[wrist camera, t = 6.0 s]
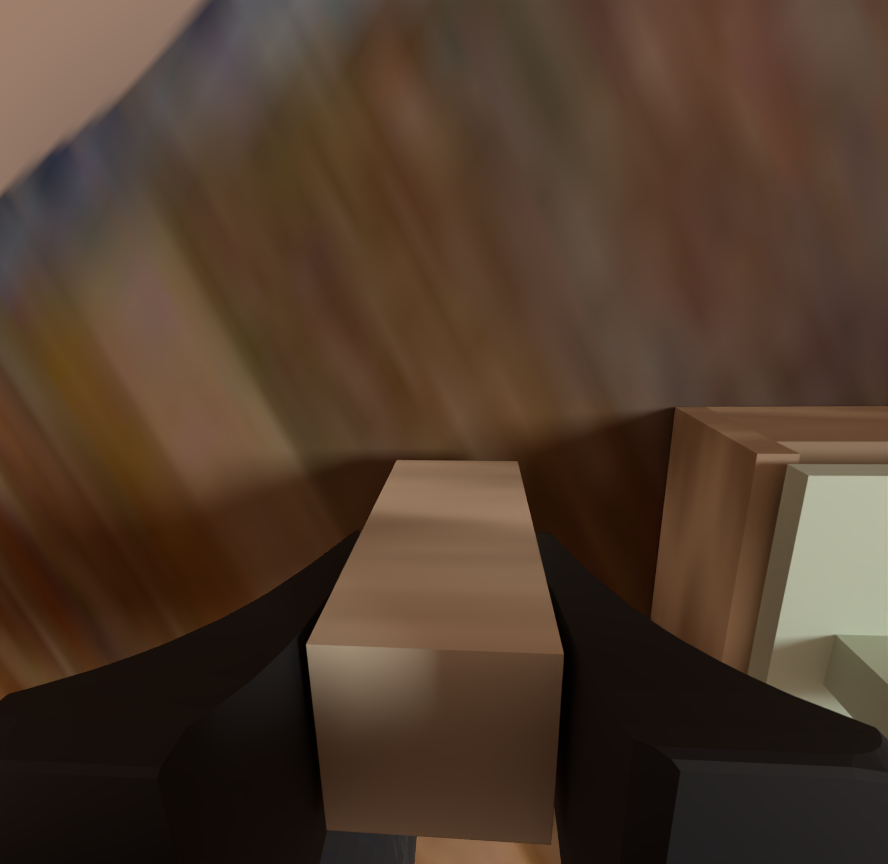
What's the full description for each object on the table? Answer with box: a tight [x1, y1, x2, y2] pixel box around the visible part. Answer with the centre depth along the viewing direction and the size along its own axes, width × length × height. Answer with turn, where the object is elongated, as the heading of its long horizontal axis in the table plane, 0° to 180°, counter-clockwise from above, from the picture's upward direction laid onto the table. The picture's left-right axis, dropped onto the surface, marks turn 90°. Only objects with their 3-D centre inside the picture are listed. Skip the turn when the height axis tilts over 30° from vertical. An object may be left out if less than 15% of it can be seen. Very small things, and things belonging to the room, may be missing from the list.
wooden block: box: [306, 460, 564, 845], centre depth 10 cm, size 3×3×7 cm
